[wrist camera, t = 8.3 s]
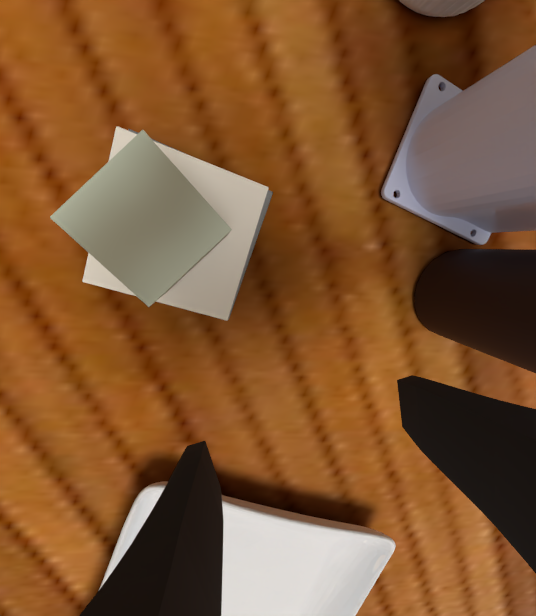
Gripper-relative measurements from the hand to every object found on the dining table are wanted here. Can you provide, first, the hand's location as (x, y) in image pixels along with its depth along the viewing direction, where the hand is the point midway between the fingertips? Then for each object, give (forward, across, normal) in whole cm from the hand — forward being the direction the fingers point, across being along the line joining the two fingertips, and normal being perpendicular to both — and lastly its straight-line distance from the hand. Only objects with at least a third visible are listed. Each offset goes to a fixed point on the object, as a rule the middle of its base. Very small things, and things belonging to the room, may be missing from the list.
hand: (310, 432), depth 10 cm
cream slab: (+8, +3, -8) cm, 12 cm away
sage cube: (+6, +4, -8) cm, 11 cm away
